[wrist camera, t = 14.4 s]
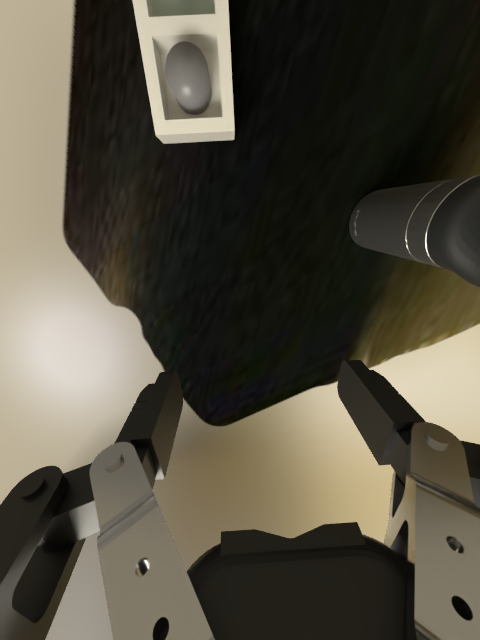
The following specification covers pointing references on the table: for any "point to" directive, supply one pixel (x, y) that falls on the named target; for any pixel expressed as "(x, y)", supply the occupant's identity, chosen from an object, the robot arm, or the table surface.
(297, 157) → the table surface
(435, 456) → the robot arm
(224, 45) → the white divided tray
